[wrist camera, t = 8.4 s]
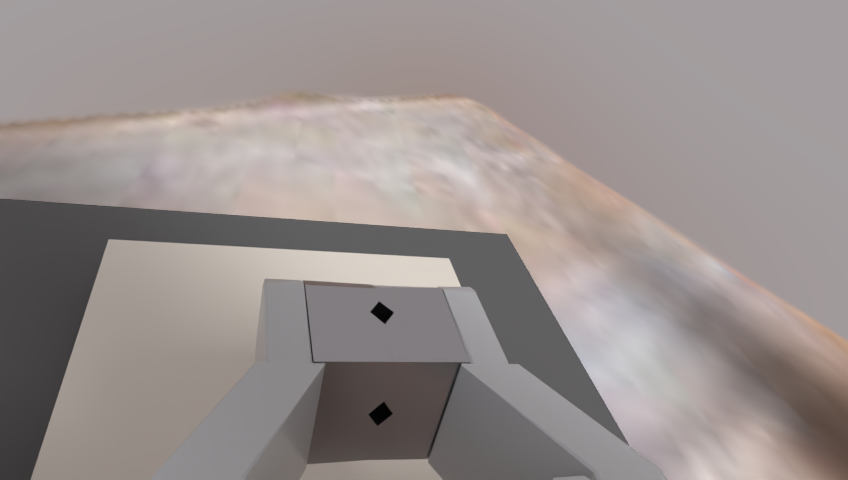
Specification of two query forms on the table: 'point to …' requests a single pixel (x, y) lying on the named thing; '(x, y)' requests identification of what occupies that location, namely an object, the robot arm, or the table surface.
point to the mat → (94, 225)
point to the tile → (189, 352)
